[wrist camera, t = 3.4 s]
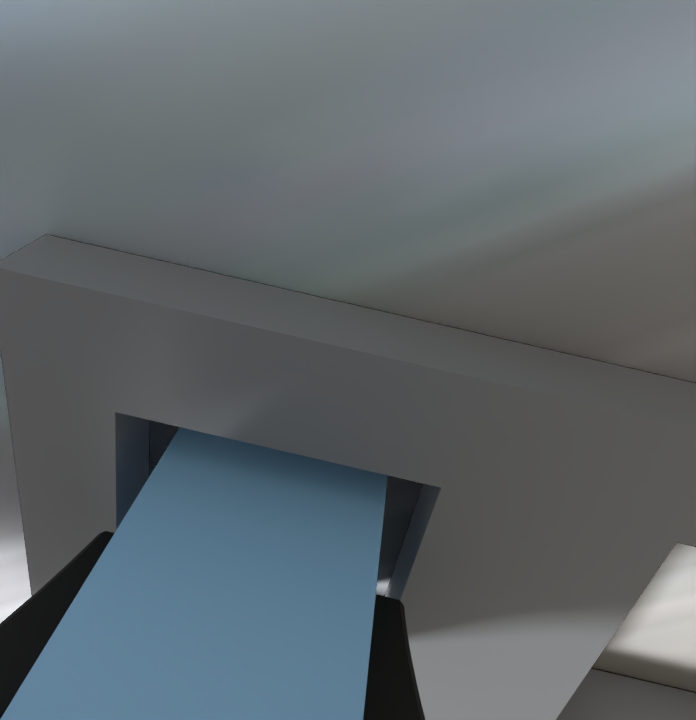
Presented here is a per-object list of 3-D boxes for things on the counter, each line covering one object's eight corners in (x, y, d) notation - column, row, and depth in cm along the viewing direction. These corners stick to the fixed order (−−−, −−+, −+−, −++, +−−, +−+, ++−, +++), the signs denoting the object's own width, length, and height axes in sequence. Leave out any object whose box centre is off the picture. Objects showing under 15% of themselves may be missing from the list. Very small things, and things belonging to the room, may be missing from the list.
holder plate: (803, 776, 15) (837, 847, 14) (72, 604, 15) (39, 658, 14) (1146, 486, 10) (1250, 555, 9) (45, 234, 10) (-10, 266, 9)
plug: (351, 587, 14) (286, 1031, 8) (180, 547, 14) (-14, 959, 8) (389, 455, 12) (342, 920, 6) (190, 409, 12) (-63, 821, 6)
